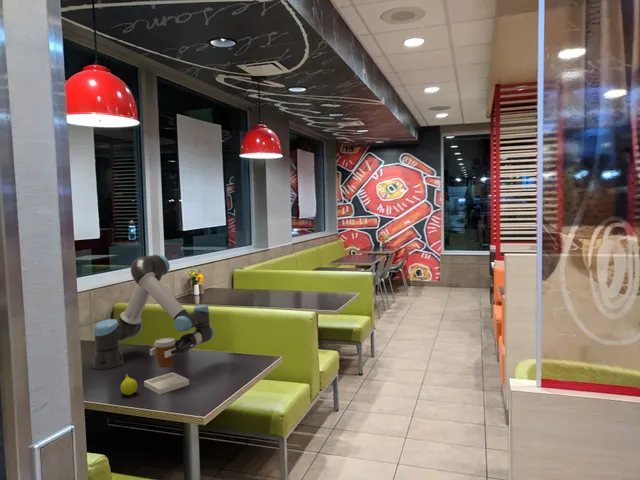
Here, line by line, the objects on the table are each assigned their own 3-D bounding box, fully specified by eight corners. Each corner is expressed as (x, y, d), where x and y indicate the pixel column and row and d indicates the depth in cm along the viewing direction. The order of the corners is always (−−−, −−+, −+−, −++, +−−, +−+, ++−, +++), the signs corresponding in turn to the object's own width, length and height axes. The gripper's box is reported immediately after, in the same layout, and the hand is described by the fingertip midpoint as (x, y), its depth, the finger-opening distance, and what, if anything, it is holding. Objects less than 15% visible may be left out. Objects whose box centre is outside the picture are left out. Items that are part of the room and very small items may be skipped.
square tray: (144, 386, 219) (143, 381, 218) (173, 377, 229) (172, 372, 229) (159, 394, 208) (159, 389, 208) (189, 384, 219) (189, 379, 219)
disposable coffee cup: (170, 369, 213) (168, 343, 212) (151, 368, 214) (150, 342, 214) (180, 362, 222) (179, 337, 221) (162, 361, 224) (160, 337, 223)
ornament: (126, 391, 213) (125, 369, 213) (140, 391, 213) (139, 370, 212) (117, 397, 206) (116, 375, 205) (132, 397, 205) (131, 375, 205)
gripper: (207, 349, 230) (176, 364, 209) (174, 345, 239) (141, 359, 218) (207, 334, 229) (175, 348, 209) (174, 331, 238) (140, 343, 217)
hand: (157, 353), depth 213 cm, fingers closed on disposable coffee cup, 8 cm apart
